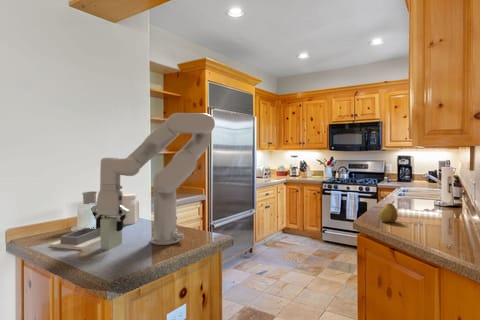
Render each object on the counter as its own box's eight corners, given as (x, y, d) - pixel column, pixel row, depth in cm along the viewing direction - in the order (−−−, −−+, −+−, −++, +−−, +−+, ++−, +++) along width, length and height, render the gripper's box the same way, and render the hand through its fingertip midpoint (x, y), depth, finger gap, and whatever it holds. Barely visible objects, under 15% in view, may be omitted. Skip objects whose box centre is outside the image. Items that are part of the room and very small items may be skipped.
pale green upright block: (122, 243, 124) (121, 215, 123) (109, 249, 116) (108, 220, 116) (113, 242, 125) (113, 215, 124) (100, 249, 117) (100, 219, 117)
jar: (124, 219, 166) (124, 193, 166) (141, 219, 166) (140, 193, 166) (115, 224, 155) (115, 196, 154) (133, 224, 155) (133, 196, 154)
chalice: (86, 225, 152) (85, 191, 152) (99, 225, 153) (99, 191, 152) (79, 229, 145) (79, 193, 144) (94, 229, 146) (93, 193, 145)
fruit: (375, 220, 164) (376, 199, 164) (389, 219, 167) (389, 198, 166) (386, 224, 156) (387, 202, 156) (401, 223, 158) (401, 201, 158)
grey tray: (109, 238, 131) (109, 228, 131) (82, 250, 116) (82, 239, 115) (80, 235, 135) (80, 226, 135) (49, 246, 119) (49, 236, 119)
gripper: (134, 188, 121) (133, 229, 121) (98, 185, 125) (98, 225, 126) (122, 190, 114) (121, 233, 114) (85, 187, 118) (84, 229, 118)
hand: (109, 229), depth 120 cm, fingers open, 9 cm apart
